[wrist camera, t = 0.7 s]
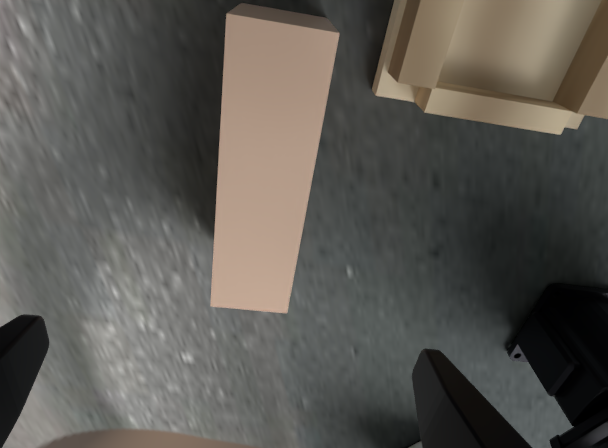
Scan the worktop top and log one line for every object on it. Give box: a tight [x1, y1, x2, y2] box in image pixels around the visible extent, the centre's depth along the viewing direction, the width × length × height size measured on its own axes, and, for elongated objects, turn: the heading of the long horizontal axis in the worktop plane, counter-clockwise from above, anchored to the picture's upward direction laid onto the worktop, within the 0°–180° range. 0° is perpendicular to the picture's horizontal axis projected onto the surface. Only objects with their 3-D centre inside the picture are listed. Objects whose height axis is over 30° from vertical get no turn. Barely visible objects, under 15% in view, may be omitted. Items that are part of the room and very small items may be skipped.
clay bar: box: [211, 3, 340, 313], centre depth 18 cm, size 4×12×5 cm, turn 171°
